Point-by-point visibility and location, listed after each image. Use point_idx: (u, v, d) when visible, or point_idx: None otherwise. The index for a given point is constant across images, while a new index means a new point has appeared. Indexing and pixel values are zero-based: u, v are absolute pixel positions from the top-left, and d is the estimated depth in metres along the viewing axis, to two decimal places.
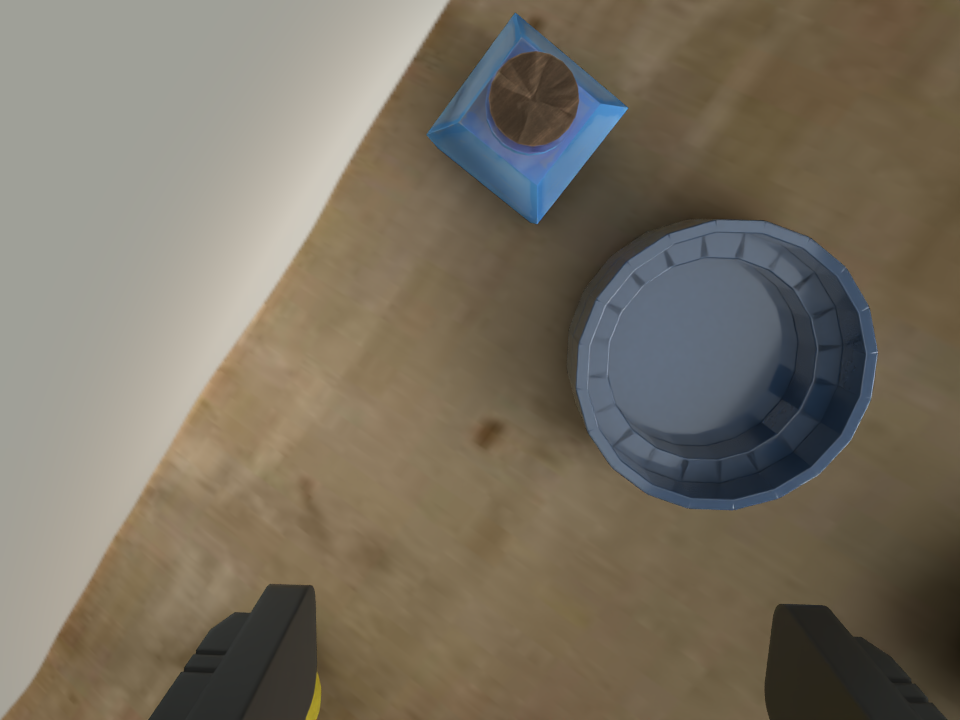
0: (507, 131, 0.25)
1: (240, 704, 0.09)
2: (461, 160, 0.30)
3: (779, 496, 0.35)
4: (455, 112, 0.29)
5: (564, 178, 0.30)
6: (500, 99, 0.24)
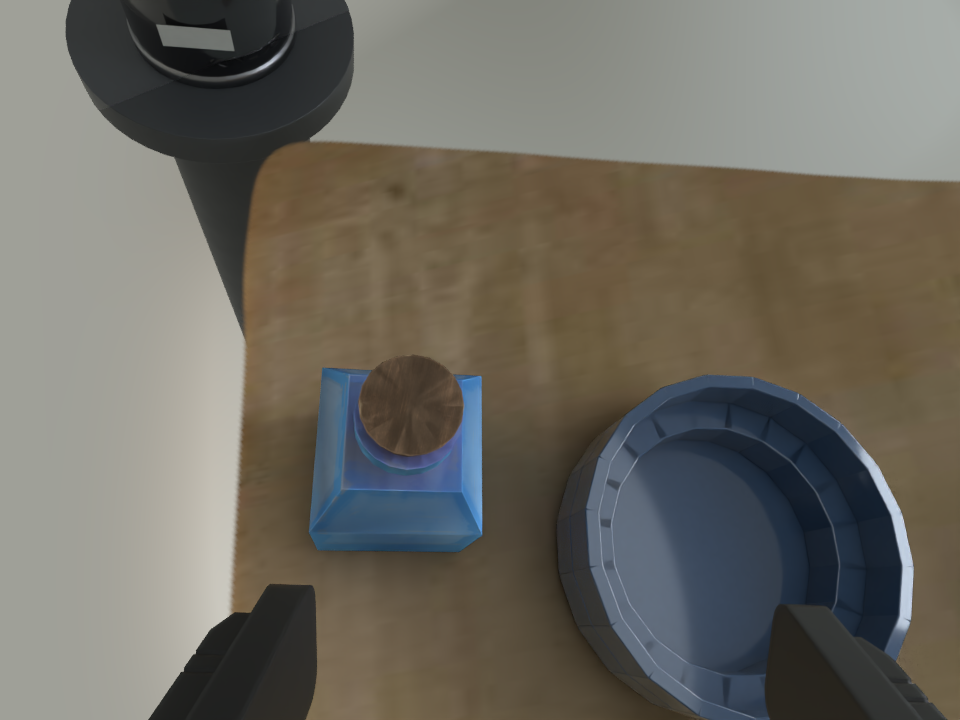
0: (408, 450, 0.20)
1: (240, 704, 0.09)
2: (363, 530, 0.25)
3: (909, 619, 0.28)
4: (328, 486, 0.24)
5: (476, 472, 0.26)
6: (380, 425, 0.20)
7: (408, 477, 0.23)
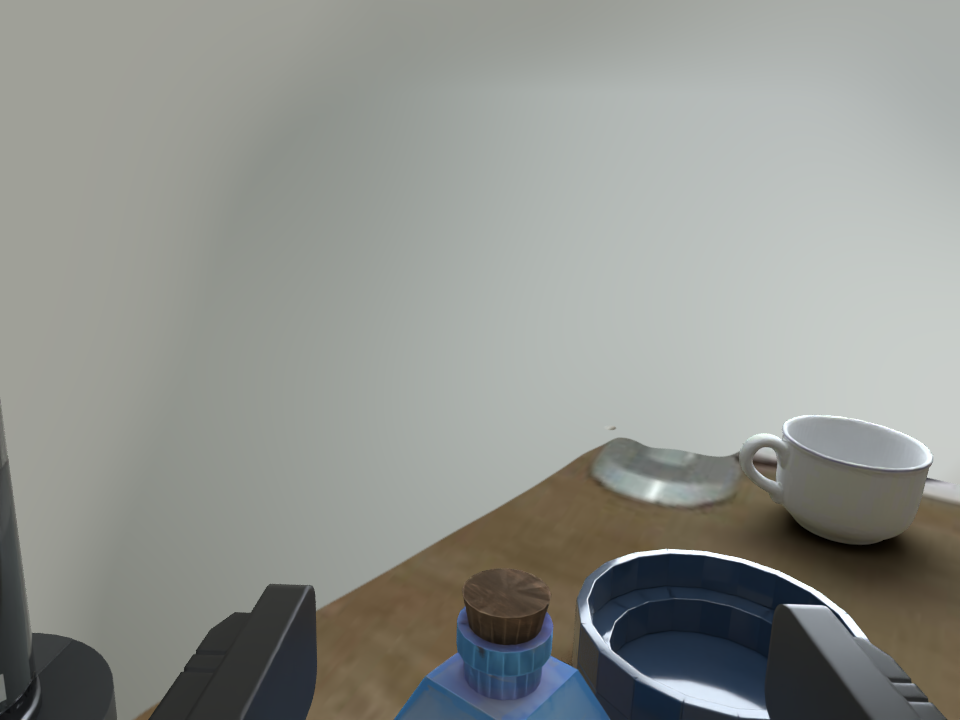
0: (538, 607, 0.24)
1: (240, 704, 0.09)
2: None
3: (815, 589, 0.39)
4: None
5: None
6: (506, 610, 0.24)
7: (540, 689, 0.25)
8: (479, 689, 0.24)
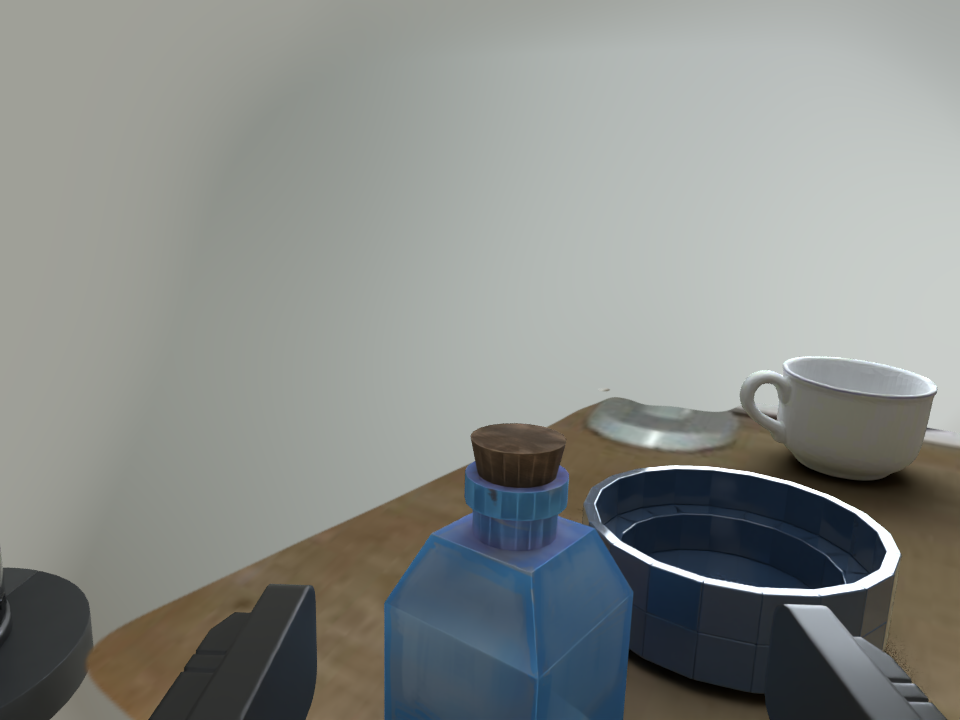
0: (553, 447, 0.22)
1: (240, 704, 0.09)
2: (569, 643, 0.21)
3: (829, 495, 0.37)
4: (512, 609, 0.21)
5: None
6: (520, 449, 0.22)
7: (556, 543, 0.23)
8: (490, 541, 0.22)
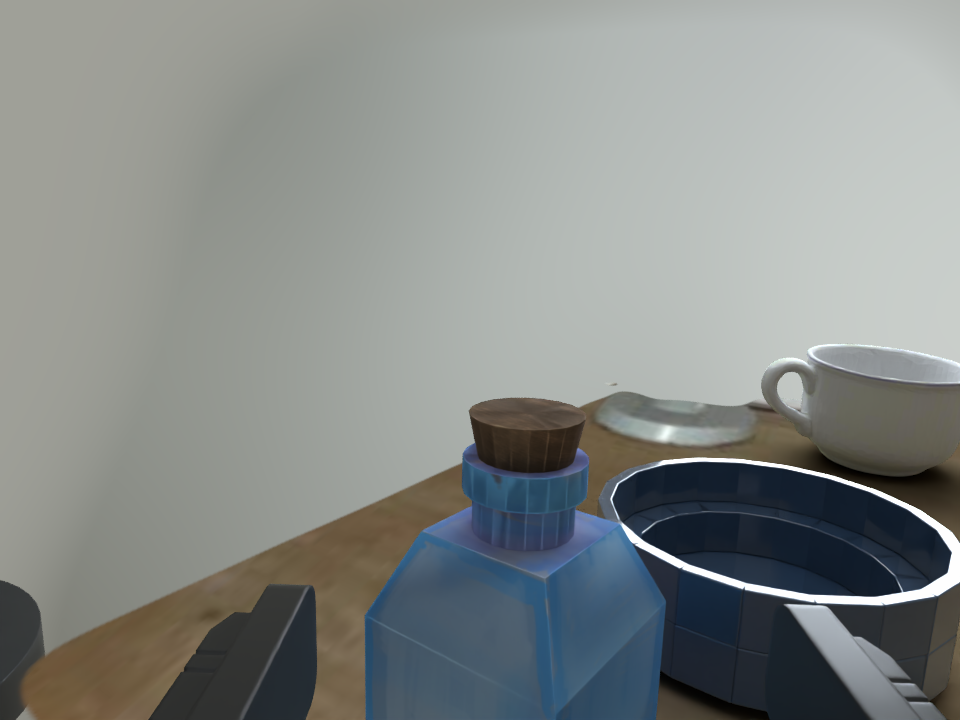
0: (571, 422, 0.18)
1: (240, 704, 0.09)
2: (593, 665, 0.17)
3: (874, 489, 0.33)
4: (522, 623, 0.17)
5: None
6: (530, 425, 0.18)
7: (574, 541, 0.19)
8: (494, 539, 0.18)
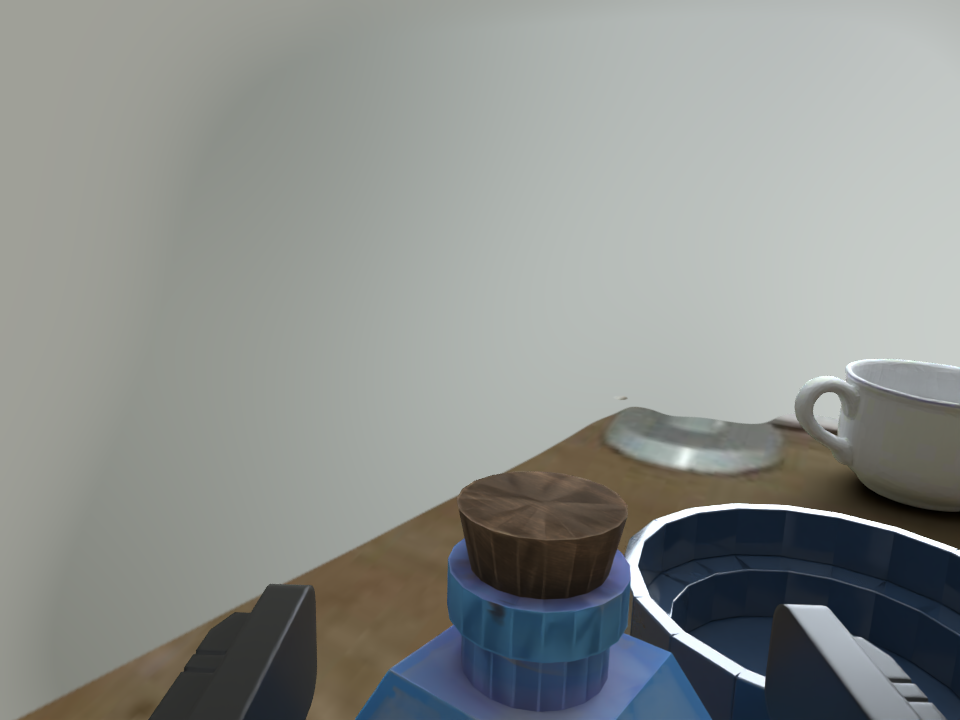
0: (608, 523, 0.12)
1: (240, 704, 0.09)
2: None
3: (955, 548, 0.27)
4: None
5: None
6: (547, 528, 0.12)
7: (609, 689, 0.13)
8: (493, 691, 0.12)
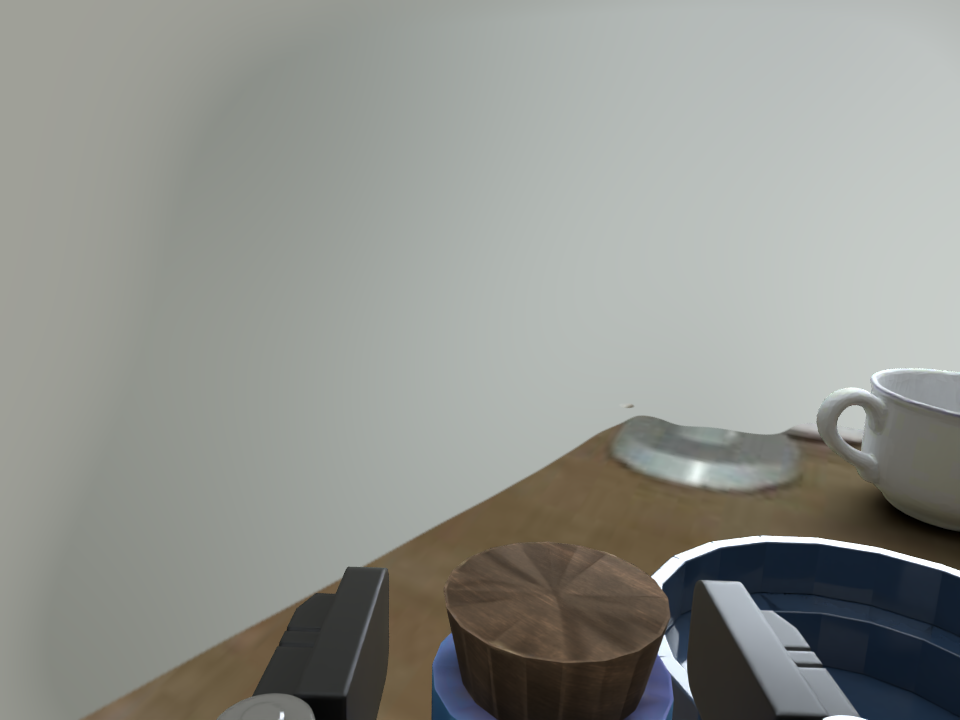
0: (646, 631, 0.09)
1: (344, 673, 0.09)
2: None
3: None
4: None
5: None
6: (564, 642, 0.09)
7: None
8: None
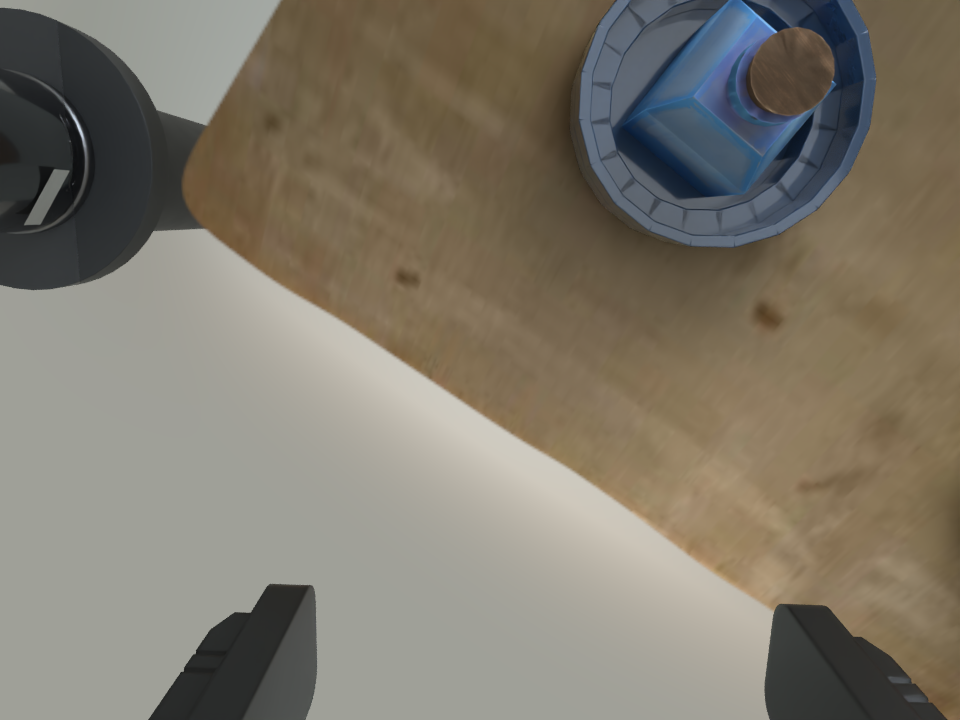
0: (818, 97, 0.27)
1: (240, 704, 0.09)
2: (772, 160, 0.32)
3: (865, 29, 0.33)
4: (741, 162, 0.31)
5: None
6: (789, 104, 0.27)
7: None
8: (739, 116, 0.30)
